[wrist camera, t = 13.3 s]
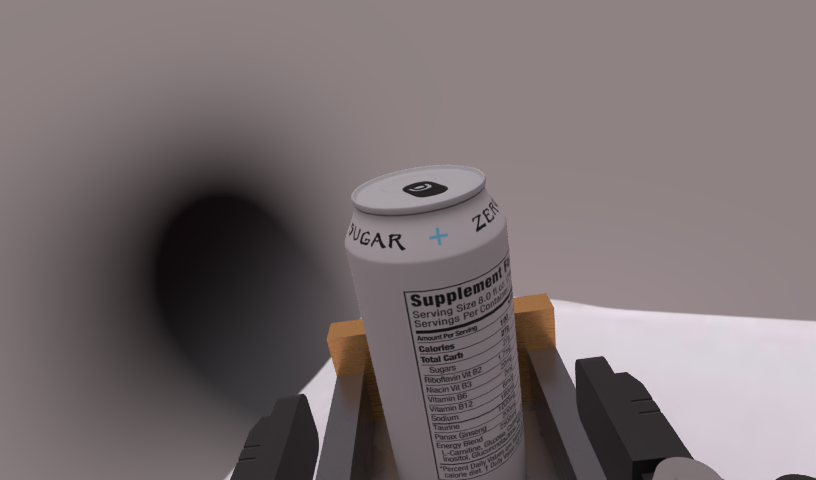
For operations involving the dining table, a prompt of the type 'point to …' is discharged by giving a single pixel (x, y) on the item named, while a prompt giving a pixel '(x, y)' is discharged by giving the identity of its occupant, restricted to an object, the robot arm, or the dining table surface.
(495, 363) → the energy drink can
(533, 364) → the keeper cradle
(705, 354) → the dining table surface
